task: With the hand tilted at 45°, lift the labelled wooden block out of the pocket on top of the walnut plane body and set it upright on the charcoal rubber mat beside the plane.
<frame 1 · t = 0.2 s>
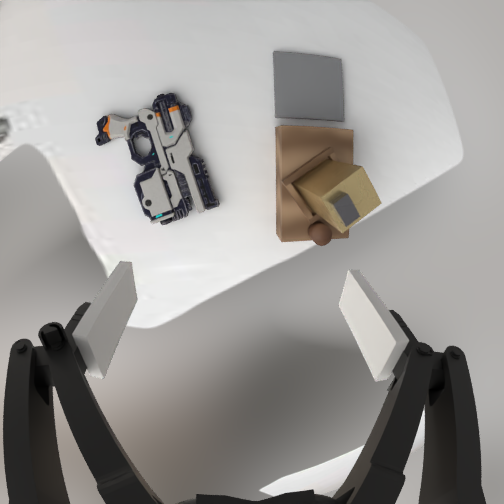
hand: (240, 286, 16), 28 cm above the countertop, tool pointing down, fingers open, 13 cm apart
mat: (309, 86, 37), on the countertop
toy gun: (154, 160, 39), on the countertop
plane body: (310, 181, 42), on the countertop
labelled wooden block: (318, 184, 39), point 4 cm above the countertop, touching plane body
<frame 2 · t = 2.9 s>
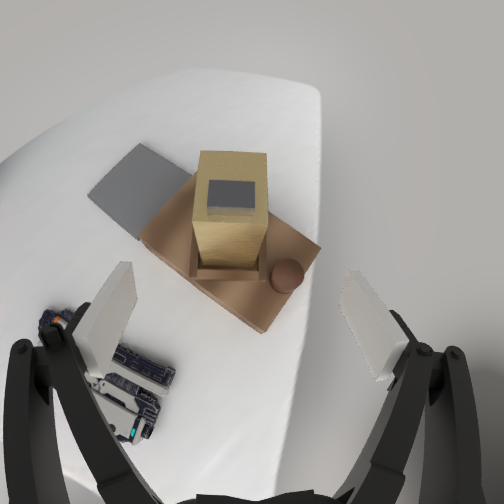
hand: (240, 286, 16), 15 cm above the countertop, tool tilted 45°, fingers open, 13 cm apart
mat: (138, 188, 35), on the countertop
toy gun: (88, 384, 27), on the countertop
plane body: (228, 253, 33), on the countertop
labelled wooden block: (228, 241, 29), point 4 cm above the countertop, touching plane body
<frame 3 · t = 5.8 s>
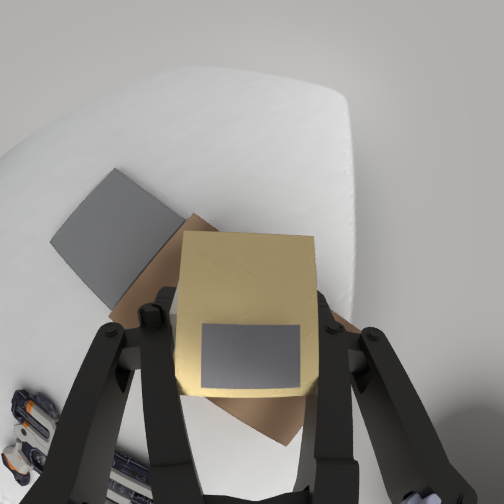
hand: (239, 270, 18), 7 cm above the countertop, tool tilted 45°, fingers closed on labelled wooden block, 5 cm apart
mat: (112, 234, 26), on the countertop
toy gun: (76, 472, 17), on the countertop
plane body: (235, 333, 24), on the countertop
labelled wooden block: (236, 330, 20), point 4 cm above the countertop, touching gripper, plane body
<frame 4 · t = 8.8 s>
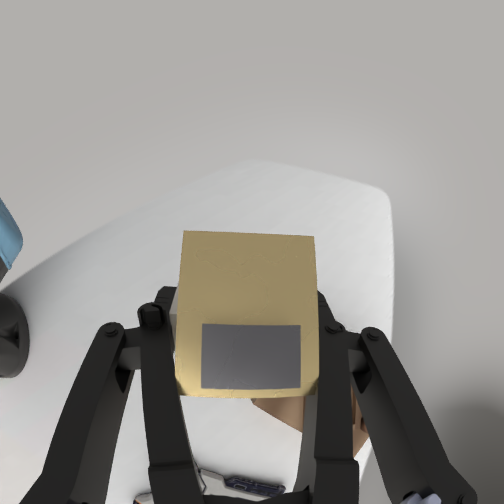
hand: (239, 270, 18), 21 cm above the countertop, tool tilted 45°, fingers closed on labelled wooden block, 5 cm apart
toy gun: (204, 500, 28), on the countertop
plane body: (321, 397, 35), on the countertop
labelled wooden block: (236, 330, 20), point 18 cm above the countertop, touching gripper
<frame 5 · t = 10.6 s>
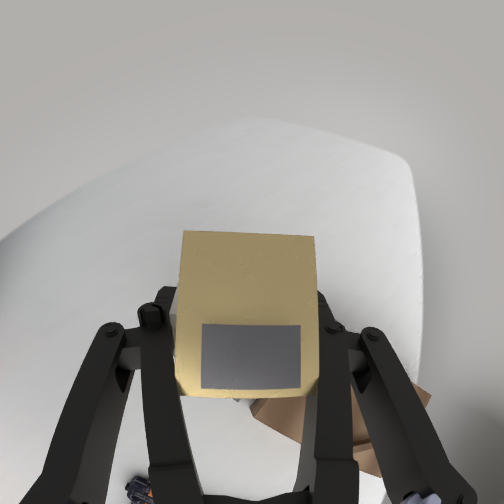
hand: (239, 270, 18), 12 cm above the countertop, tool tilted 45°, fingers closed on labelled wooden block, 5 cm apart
plane body: (341, 404, 26), on the countertop
labelled wooden block: (236, 330, 20), point 8 cm above the countertop, touching gripper
when the fingers open (6 cm above the countertop, at t = 12.1 s): labelled wooden block drops 2 cm, resting on mat.
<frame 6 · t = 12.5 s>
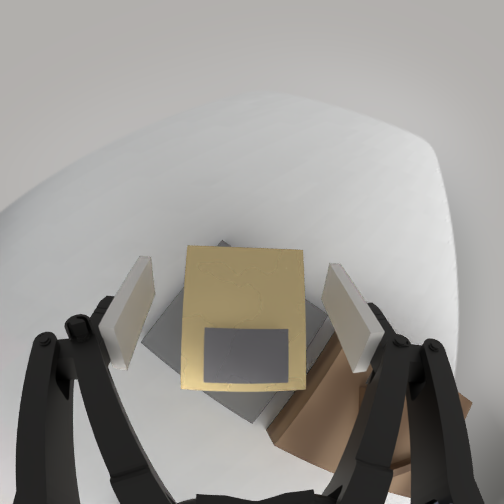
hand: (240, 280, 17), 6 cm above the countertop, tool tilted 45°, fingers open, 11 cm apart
mat: (235, 332, 22), on the countertop
plane body: (374, 419, 20), on the countertop
labelled wooden block: (235, 332, 21), point 1 cm above the countertop, touching mat
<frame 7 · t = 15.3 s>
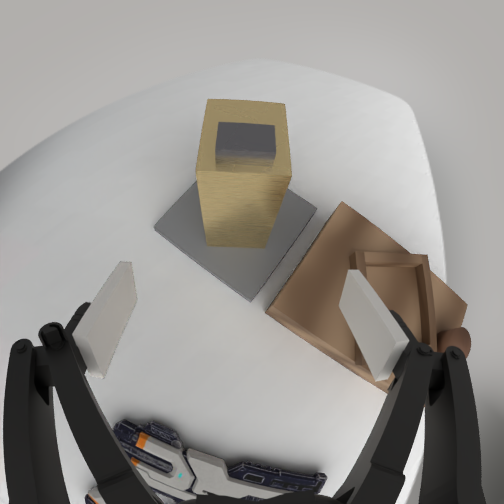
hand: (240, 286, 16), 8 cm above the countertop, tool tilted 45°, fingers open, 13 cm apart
mat: (237, 220, 26), on the countertop
toy gun: (195, 501, 17), on the countertop
plane body: (370, 314, 24), on the countertop
labelled wooden block: (236, 216, 25), point 1 cm above the countertop, touching mat
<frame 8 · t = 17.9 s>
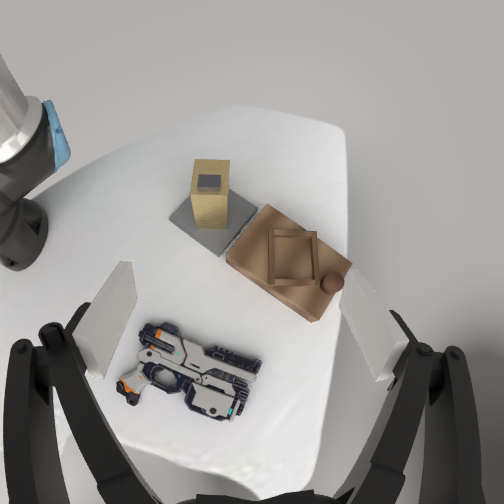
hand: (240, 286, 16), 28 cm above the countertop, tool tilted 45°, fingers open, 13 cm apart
mat: (213, 214, 48), on the countertop
toy gun: (185, 380, 39), on the countertop
plane body: (287, 266, 46), on the countertop
labelled wooden block: (212, 212, 47), point 1 cm above the countertop, touching mat
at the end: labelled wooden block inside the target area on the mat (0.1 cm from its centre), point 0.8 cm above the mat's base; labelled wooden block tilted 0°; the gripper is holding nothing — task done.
